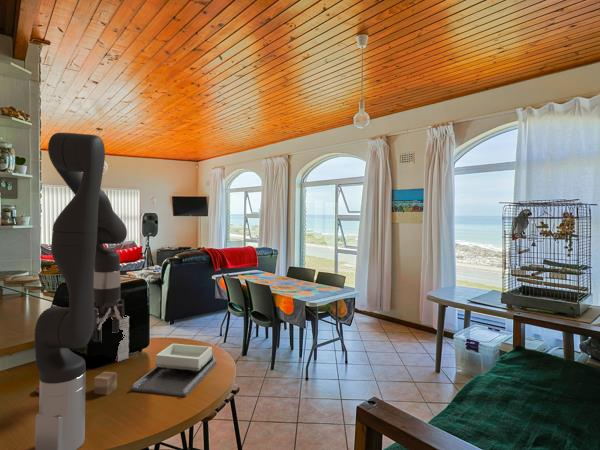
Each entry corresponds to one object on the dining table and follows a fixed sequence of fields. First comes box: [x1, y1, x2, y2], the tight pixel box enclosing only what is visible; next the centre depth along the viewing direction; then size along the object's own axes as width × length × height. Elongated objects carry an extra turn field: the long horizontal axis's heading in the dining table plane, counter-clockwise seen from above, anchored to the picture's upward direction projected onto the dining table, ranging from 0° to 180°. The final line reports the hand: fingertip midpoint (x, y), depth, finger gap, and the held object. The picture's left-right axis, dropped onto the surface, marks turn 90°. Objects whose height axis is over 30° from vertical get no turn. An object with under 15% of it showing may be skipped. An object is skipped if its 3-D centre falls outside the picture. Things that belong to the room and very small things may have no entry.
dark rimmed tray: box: [131, 353, 217, 397], centre depth 126 cm, size 25×18×4 cm
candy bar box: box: [114, 315, 130, 363], centre depth 140 cm, size 11×5×16 cm, turn 58°
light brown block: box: [93, 371, 118, 396], centre depth 115 cm, size 4×4×5 cm
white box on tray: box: [155, 343, 213, 373], centre depth 131 cm, size 12×16×6 cm
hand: (106, 336), depth 114 cm, fingers open, 8 cm apart
